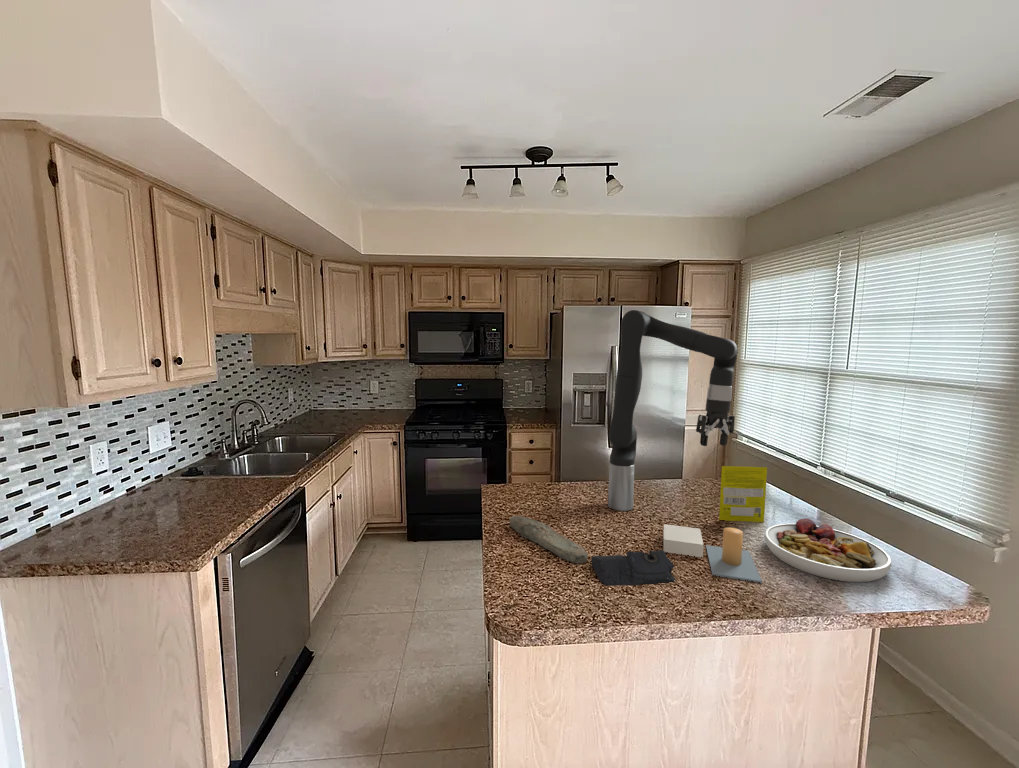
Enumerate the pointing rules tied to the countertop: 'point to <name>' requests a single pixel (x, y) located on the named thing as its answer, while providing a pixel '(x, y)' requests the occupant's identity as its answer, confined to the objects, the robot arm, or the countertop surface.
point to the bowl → (827, 552)
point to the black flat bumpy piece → (633, 568)
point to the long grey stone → (548, 539)
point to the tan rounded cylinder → (732, 546)
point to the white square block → (683, 540)
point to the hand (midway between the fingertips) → (713, 445)
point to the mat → (732, 566)
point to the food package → (743, 493)
